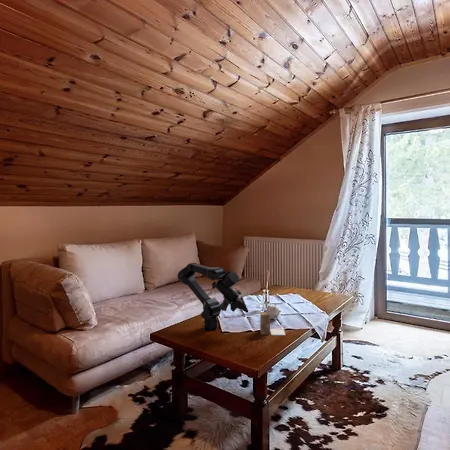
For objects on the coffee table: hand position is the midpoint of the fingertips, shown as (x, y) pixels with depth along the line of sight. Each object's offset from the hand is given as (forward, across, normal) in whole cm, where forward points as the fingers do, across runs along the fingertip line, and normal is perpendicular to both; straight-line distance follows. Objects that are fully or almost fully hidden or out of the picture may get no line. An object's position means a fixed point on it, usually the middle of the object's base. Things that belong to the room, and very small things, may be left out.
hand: (247, 312), depth 177 cm
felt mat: (+18, -1, +3) cm, 19 cm away
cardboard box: (+14, -1, -1) cm, 14 cm away
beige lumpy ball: (+18, -20, +3) cm, 27 cm away
